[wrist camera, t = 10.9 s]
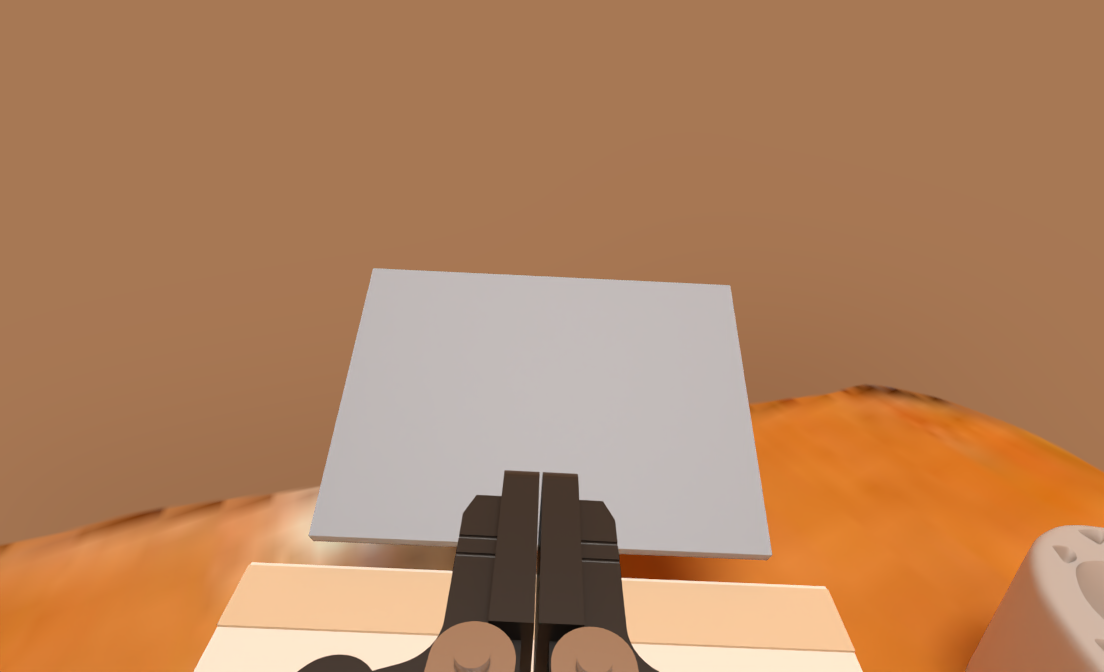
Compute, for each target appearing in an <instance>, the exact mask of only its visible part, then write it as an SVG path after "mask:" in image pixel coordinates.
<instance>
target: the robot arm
mask: <svg viewBox="0 0 1104 672" xmlns="http://www.w3.org/2000/svg"><path fill="white" fill-rule="evenodd" d="M539 479H540V472H531V471H512V470H505V471H504V479H503V488H502V496H491V495H476V496H475V498H474V499H473V500H472V502H471V503H470V504H469V506H468V507H467V508H466V510H465V511H464V512H463V515H462V521H461V527H460V533H459V538H458V544H457V550H456V556H455V561H454V567H453V572H452V578H451V584H450V589H449V595H448V601H447V607H446V612H445V618H444V623H443V626H442V629H441V631H440V633H439V635H438V637H437V638H436V640H435V641H434V642H433V643H432V644H431V646H430V647H429V648H427V649H426V650H425V651H424V652H423V653H421V654H419V655H418V656H416V657H415V658H412V659H410V660H408V661H406V662H403V663H400V664H396V665H392V666H388V667H385V668H381V669H377V670H373V671H372V670H371V668H370V667H369V666H368V665H367V664H366V663H365V662H363V661H362V660H360V659H358V658H356V657H353V656H350V655H342V654H339V655H330V656H325V657H322V658H319V659H316V660H314V661H312V662H311V663H309V664H307V665H306V666H304V667H303V668H301V669H300V670H299V671H298V672H531V663H532V649H533V635H534V663H533V672H659V671H657V670H656V669H654V668H652V667H651V666H650V665H649V664H647V663H646V662H645V661H644V660H643V659H642V658H641V657H640V656H639V655H638V653H637V652H636V651H635V649H634V648H633V646H632V644H631V642H630V639H629V637H628V632H627V626H626V616H625V607H624V598H623V588H622V579H621V569H620V564H619V551H618V546H617V543H618V541H617V532H616V523H615V519H614V518H613V516H612V515H611V513H610V511H609V510H608V508H607V507H606V505H605V504H604V502H603V501H592V500H579V481H578V474H572V473H553V472H543V474H542V487H541V502H540V516H539V531H538V507H539ZM537 535H538V549H537ZM536 564H537V576H536ZM535 592H536V605H535ZM534 620H535V634H534Z"/></svg>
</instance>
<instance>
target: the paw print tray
mask: <svg viewBox="0 0 1104 672" xmlns="http://www.w3.org/2000/svg"><path fill="white" fill-rule="evenodd" d="M965 672H1104V528H1101V527H1092V526H1082V525H1069V526H1061V527H1056V528H1054V529H1051V530H1049V531H1047V532H1045V533H1044V534H1042V535H1041V536H1039V537H1038V538H1037V539H1036V540H1035V541H1034V543H1033V544H1032V546H1031V548H1030V550H1029V551H1028V553H1027V555H1026V557H1025V559H1024V560H1023V562H1022V564H1021V566H1020V568H1019V569H1018V571H1017V573H1016V575H1015V577H1014V579H1013V581H1012V583H1011V584H1010V586H1009V588H1008V590H1007V592H1006V594H1005V596H1004V598H1003V599H1002V601H1001V603H1000V605H999V607H998V609H997V610H996V612H995V614H994V616H993V618H992V620H991V622H990V624H989V625H988V627H987V629H986V631H985V633H984V635H983V637H982V639H981V641H980V642H979V644H978V646H977V648H976V650H975V652H974V654H973V656H972V657H971V659H970V661H969V663H968V665H967V668H966V671H965Z"/></svg>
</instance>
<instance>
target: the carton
mask: <svg viewBox="0 0 1104 672" xmlns="http://www.w3.org/2000/svg"><path fill="white" fill-rule="evenodd" d="M452 572H453V571H445V570H422V569H398V568H374V567H351V566H327V565H303V564H279V563H256V562H252V563H251V565H248V567H247V569H246V571H245V573H244V575H243V577H242V579H241V580H240V582H239V584H238V586H237V588H236V590H235V592H234V593H233V595H232V597H231V599H230V601H229V603H228V605H227V607H226V608H225V610H224V612H223V614H222V616H221V618H220V620H219V621H218V623H217V629H216V630H215V632H214V634H213V636H212V638H211V640H210V642H209V644H208V645H207V647H206V649H205V651H204V653H203V655H202V657H201V659H200V660H199V662H198V664H197V666H196V668H195V670H194V672H298V671H299V670H300V669H301V668H303V667H304V666H306V665H307V664H309V663H311V662H312V661H314V660H316V659H319V658H322V657H325V656H330V655H339V654H342V655H350V656H353V657H356V658H358V659H360V660H362V661H363V662H365V663H366V664H367V665H368V666H369V667H370V668H371V670H372V671H373V670H377V669H381V668H385V667H388V666H392V665H396V664H400V663H403V662H406V661H408V660H410V659H412V658H415V657H416V656H418V655H419V654H421V653H423V652H424V651H425V650H426V649H427V648H429V647H430V646H431V644H432V643H433V642H434V641H435V640H436V638H437V637H438V635H439V633H440V631H441V629H442V626H443V623H444V618H445V612H446V607H447V601H448V595H449V589H450V584H451V578H452ZM536 576H537V574H536ZM621 579H622V588H623V598H624V607H625V616H626V626H627V632H628V637H629V639H630V642H631V644H632V646H633V648H634V649H635V651H636V652H637V653H638V655H639V656H640V657H641V658H642V659H643V660H644V661H645V662H646V663H647V664H649V665H650V666H651V667H652V668H654V669H656V670H657V671H659V672H863V671H862V669H861V667H860V665H859V662H858V660H857V658H856V656H855V653H854V652H855V649H854V647H853V645H852V642H851V640H850V638H849V636H848V633H847V631H846V629H845V627H844V624H843V622H842V620H841V618H840V615H839V613H838V611H837V608H836V606H835V604H834V602H833V599H832V597H831V595H830V593H829V590H828V589H826V587H825V586H802V585H778V584H754V583H730V582H707V581H683V580H659V579H635V578H621ZM535 605H536V592H535ZM534 634H535V620H534ZM533 663H534V635H533V649H532V663H531V672H533Z"/></svg>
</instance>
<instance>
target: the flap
mask: <svg viewBox="0 0 1104 672" xmlns="http://www.w3.org/2000/svg"><path fill="white" fill-rule="evenodd" d="M505 470H512V471H531V472H540V479H539V507H538V531H539V516H540V502H541V487H542V474H543V472H553V473H572V474H578V481H579V500H592V501H603V502H604V504H605V505H606V507H607V508H608V510H609V511H610V513H611V515H612V516H613V518H614V519H615V523H616V532H617V541H618V543H617V546H618V551H619V554H634V555H657V556H681V557H704V558H728V559H751V560H768V559H769V558H770V557H771V556H772V550H771V544H770V538H769V531H768V525H767V518H766V512H765V506H764V499H763V493H762V487H761V480H760V474H759V467H758V461H757V455H756V448H755V442H754V435H753V429H752V423H751V416H750V410H749V403H748V397H747V391H746V385H745V379H744V371H743V365H742V359H741V352H740V346H739V340H738V334H737V327H736V321H735V314H734V308H733V301H732V295H731V288H730V285H711V284H710V285H709V284H689V283H669V282H648V281H627V280H606V279H584V278H564V277H563V278H562V277H543V276H522V275H521V276H520V275H501V274H480V273H458V272H438V271H417V270H396V269H375V268H374V269H373V272H372V276H371V280H370V284H369V288H368V292H367V297H366V301H365V305H364V309H363V313H362V317H361V321H360V326H359V330H358V334H357V338H356V342H355V346H354V350H353V355H352V358H351V363H350V367H349V371H348V375H347V379H346V383H345V387H344V392H343V396H342V400H341V404H340V408H339V412H338V416H337V420H336V424H335V429H334V433H333V437H332V441H331V445H330V449H329V453H328V458H327V462H326V466H325V470H324V474H323V478H322V483H321V486H320V491H319V495H318V499H317V503H316V507H315V511H314V515H313V519H312V524H311V528H310V532H309V536H310V538H311V539H312V540H313V541H328V542H352V543H375V544H399V545H422V546H446V547H457V544H458V538H459V533H460V527H461V521H462V515H463V512H464V511H465V510H466V508H467V507H468V506H469V504H470V503H471V502H472V500H473V499H474V498H475V496H476V495H491V496H502V488H503V479H504V471H505ZM537 549H538V535H537Z"/></svg>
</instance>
